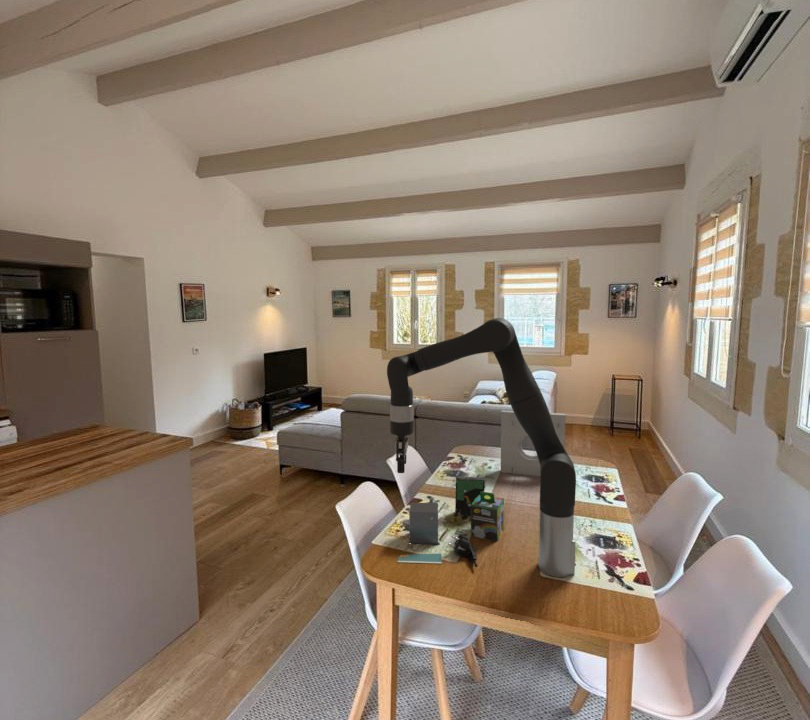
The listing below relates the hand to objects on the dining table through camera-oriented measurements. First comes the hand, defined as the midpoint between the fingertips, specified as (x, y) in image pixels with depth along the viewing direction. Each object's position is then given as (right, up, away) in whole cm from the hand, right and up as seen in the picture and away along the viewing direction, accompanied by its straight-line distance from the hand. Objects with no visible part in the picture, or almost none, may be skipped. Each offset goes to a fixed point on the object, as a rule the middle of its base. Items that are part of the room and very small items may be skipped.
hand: (402, 468), depth 140 cm
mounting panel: (+57, -19, +53) cm, 80 cm away
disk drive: (+24, -22, +18) cm, 38 cm away
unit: (+7, -24, +2) cm, 25 cm away
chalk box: (+28, -24, +5) cm, 37 cm away
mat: (+5, -25, -7) cm, 26 cm away
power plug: (+19, -23, -16) cm, 34 cm away
